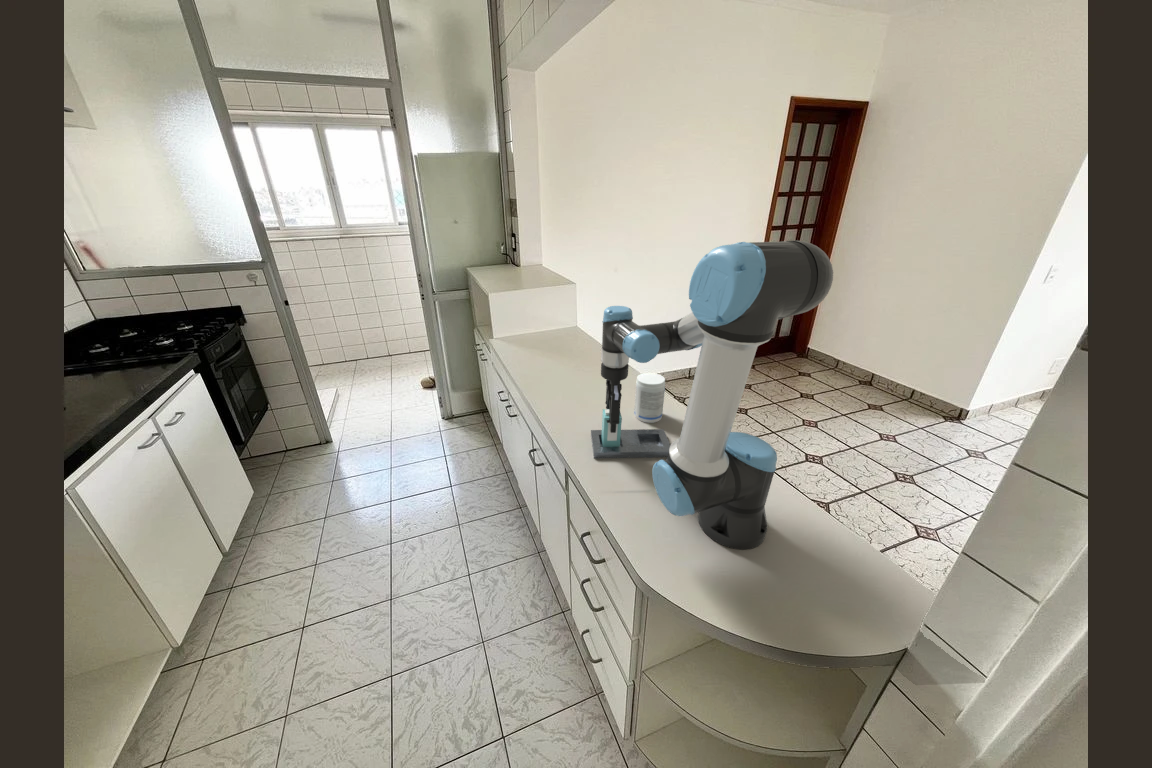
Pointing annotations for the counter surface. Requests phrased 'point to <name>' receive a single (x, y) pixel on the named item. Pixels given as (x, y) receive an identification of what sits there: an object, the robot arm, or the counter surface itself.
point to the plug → (605, 430)
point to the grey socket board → (633, 444)
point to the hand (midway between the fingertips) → (610, 434)
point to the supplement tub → (649, 397)
